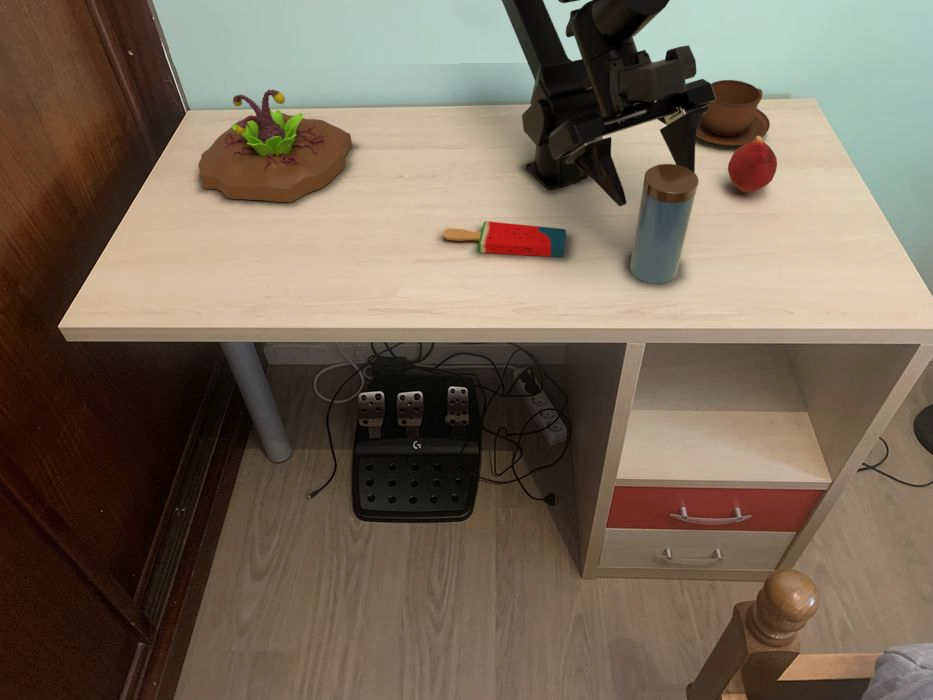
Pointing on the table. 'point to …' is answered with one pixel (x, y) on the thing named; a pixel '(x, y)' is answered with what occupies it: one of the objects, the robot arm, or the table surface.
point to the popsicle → (514, 239)
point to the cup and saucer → (733, 115)
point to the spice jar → (662, 222)
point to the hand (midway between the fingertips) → (657, 193)
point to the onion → (752, 166)
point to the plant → (274, 155)
